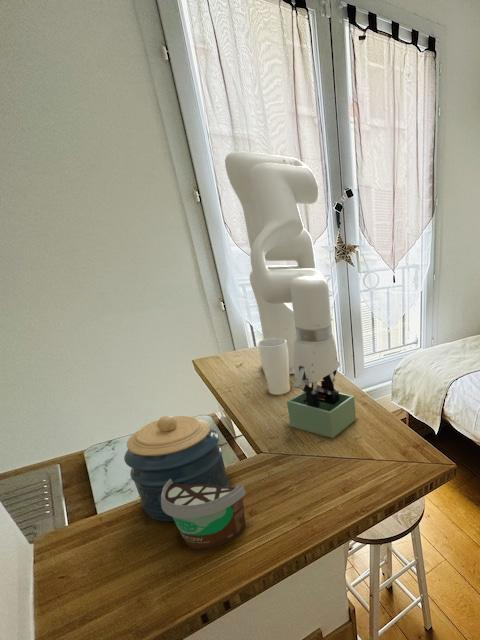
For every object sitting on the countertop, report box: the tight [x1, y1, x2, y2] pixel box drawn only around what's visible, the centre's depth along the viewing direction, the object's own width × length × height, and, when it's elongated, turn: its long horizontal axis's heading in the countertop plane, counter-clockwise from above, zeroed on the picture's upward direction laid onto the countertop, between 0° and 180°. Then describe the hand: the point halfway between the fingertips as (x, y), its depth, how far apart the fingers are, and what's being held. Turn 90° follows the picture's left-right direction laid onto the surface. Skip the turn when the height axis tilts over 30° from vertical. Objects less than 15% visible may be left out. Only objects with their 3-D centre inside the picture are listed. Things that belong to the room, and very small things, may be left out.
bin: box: [286, 391, 357, 439], centre depth 99 cm, size 9×12×7 cm
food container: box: [161, 479, 247, 550], centre depth 64 cm, size 12×6×10 cm, turn 91°
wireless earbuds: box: [303, 384, 340, 405], centre depth 97 cm, size 5×7×3 cm, turn 77°
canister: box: [123, 415, 230, 522], centre depth 70 cm, size 13×13×18 cm
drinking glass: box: [257, 338, 291, 396], centre depth 109 cm, size 7×7×15 cm
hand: (321, 400), depth 98 cm, fingers closed on wireless earbuds, 4 cm apart
